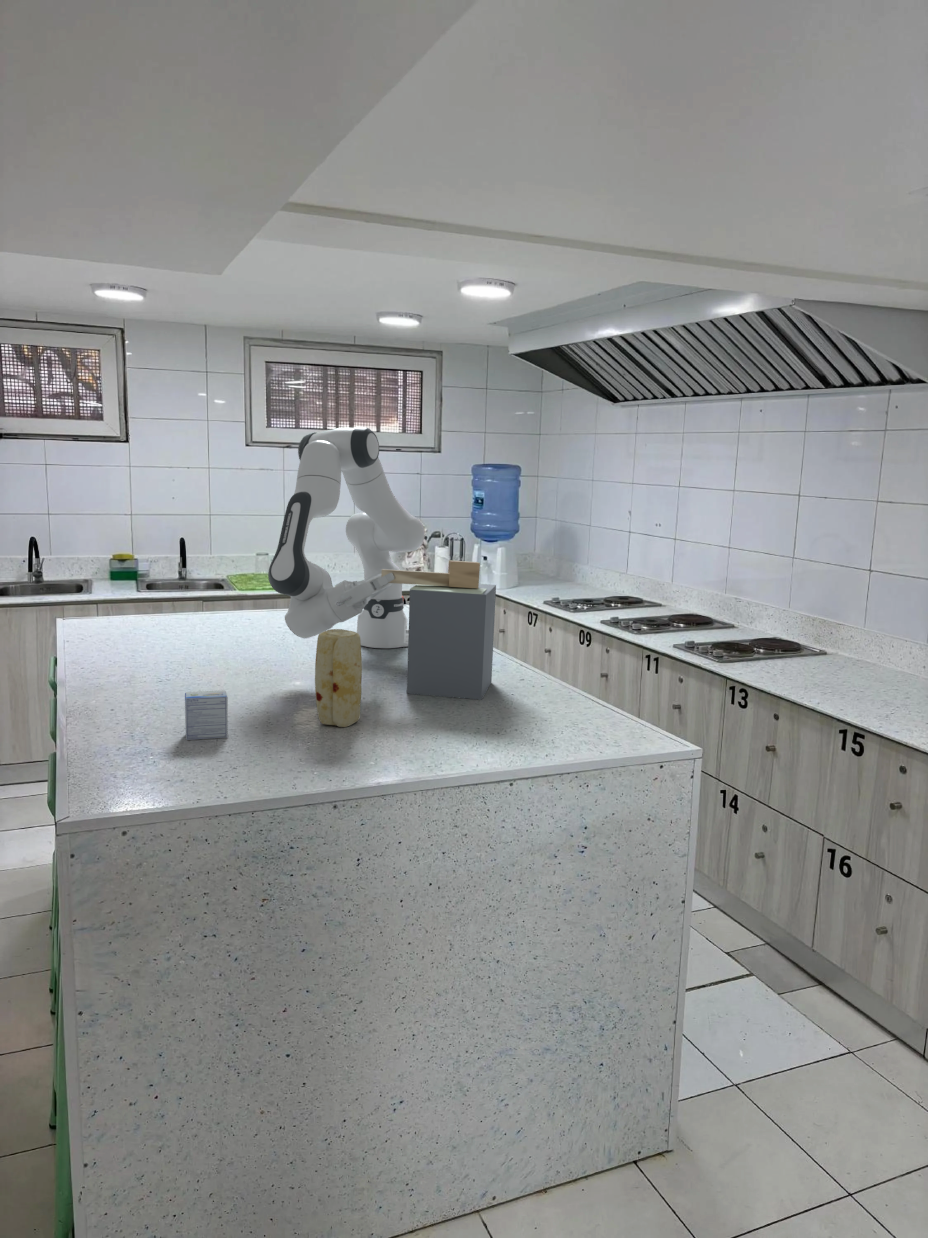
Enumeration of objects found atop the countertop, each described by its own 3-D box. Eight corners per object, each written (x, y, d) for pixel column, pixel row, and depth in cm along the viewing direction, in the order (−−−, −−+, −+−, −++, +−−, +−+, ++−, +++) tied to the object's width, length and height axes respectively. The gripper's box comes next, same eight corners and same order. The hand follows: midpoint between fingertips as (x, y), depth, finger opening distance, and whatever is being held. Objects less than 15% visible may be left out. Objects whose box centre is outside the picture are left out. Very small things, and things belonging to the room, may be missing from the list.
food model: (356, 718, 189) (358, 626, 185) (365, 727, 183) (367, 632, 179) (311, 721, 185) (312, 627, 181) (318, 730, 179) (319, 634, 175)
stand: (422, 676, 226) (425, 579, 222) (491, 682, 223) (496, 584, 219) (406, 693, 210) (409, 588, 205) (481, 699, 207) (486, 593, 202)
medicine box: (226, 731, 176) (226, 689, 174) (228, 738, 172) (227, 695, 170) (185, 734, 173) (184, 691, 172) (185, 741, 169) (185, 697, 168)
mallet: (381, 581, 212) (382, 556, 212) (475, 586, 214) (477, 561, 214) (380, 582, 206) (382, 557, 206) (478, 588, 208) (480, 563, 208)
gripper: (327, 593, 202) (378, 567, 199) (353, 582, 222) (400, 557, 219) (340, 618, 202) (391, 591, 199) (365, 604, 222) (412, 580, 219)
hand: (396, 574), depth 209 cm, fingers closed on mallet, 4 cm apart
